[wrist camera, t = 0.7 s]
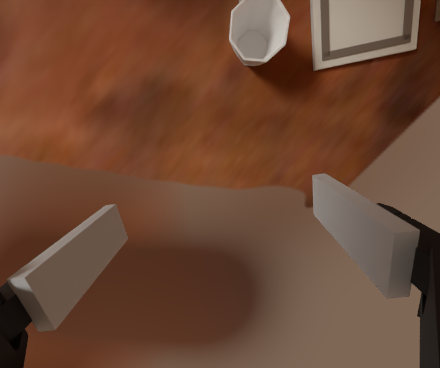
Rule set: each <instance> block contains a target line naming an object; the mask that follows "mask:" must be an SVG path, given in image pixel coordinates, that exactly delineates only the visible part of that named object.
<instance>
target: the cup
mask: <svg viewBox="0 0 440 368" xmlns="http://www.w3.org/2000/svg"><path fill="white" fill-rule="evenodd" d="M289 21H290V15H289V14H288V12H287V10H286V9H285V7H284V6H283V4H282V2H281V1H280V0H239V4H238V5H237V6H236V7H235V8H234V9H233V10H232V11H231V23H230V35H229V41H230V43H231V45H232V47H233V50H234V52H235V53H236V54H237V56H238V58H239V59H240V60H241V62H242V63H243V65H246V66H256V65H261V64H263V63H266V62H267V61H268V60H269V59H271V58H272V57H273V56H274V55H275V54H276V53H277V52H278V51H279V50H280V49H282V48H283V47H284V46H285V45H286V40H287V34H288V27H289Z"/></svg>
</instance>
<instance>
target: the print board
mask: <svg viewBox="0 0 440 368" xmlns="http://www.w3.org/2000/svg"><path fill="white" fill-rule="evenodd" d="M420 4H421V0H310V8H311V31H312V55H313V71H316V70H321V69H326V68H330V67H335V66H340V65H345V64H350V63H354V62H359V61H364V60H369V59H373V58H378V57H383V56H388V55H393V54H397V53H402V52H407V51H412V50H414V49H416V47H417V36H418V25H419V14H420Z"/></svg>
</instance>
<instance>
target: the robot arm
mask: <svg viewBox="0 0 440 368" xmlns="http://www.w3.org/2000/svg"><path fill="white" fill-rule="evenodd" d="M313 212H314V215H315V216H316V218H317V219H318V220H319V221H320V222H321V223H322V224H323V226H324V227H325V228H326V229H327V230H328V231H329V233H330V234H331V235H332V236H333V237H334V238H335V239H336V240H337V242H338V243H339V244H340V245H341V246H342V247H343V249H344V250H345V251H346V252H347V253H348V254H349V255H350V257H351V258H352V259H353V260H354V261H355V262H356V264H357V265H358V266H359V267H360V268H361V269H362V270H363V272H364V273H365V274H366V275H367V276H368V277H369V279H370V280H371V281H372V282H373V283H374V284H375V285H376V287H377V288H378V289H379V290H380V291H381V292H382V293H383V295H384V296H385V297H386V298H387V299H388V298H398V297H409V295H410V289H411V283H412V284H414V285H415V286H416V287H417V288H418V289H419V290H420V291H421V292H422V293H421V299H420V304H419V309H418V315H417V316H418V317H420V368H440V233H438V232H436V231H434V230H432V229H430V228H429V227H427V226H425V225H423V224H422V223H420V222H418V221H416V220H414V219H411V217H409V216H407V215H406V214H403V213H402V212H400V211H398V210H396V209H395V208H393V207H390V206H387V205H384V204H381V203H377V204H375V203H374V202H372V201H370V200H368V199H367V198H365V197H364V196H362V195H360V194H359V193H357V192H355V191H354V190H352V189H350V188H349V187H347V186H345V185H344V184H342V183H340V182H339V181H337V180H335V179H334V178H332V177H330V176H329V175H327V174H325V173H324V174H318V175H313ZM127 239H128V237H127V234H126V231H125V228H124V226H123V223H122V220H121V217H120V214H119V212H118V209H117V206H116V204H113V205H107V206H104V207H103V208H101V209H100V210H99V211H98V212H96V213H95V214H94V215H92V216H91V217H89V218H88V219H87V220H86V221H84V222H83V223H81V224H80V225H79V226H77V227H76V228H75V229H73V230H72V231H71V232H69V233H68V234H67V235H65V236H64V237H63V238H61V239H60V240H59V241H57V242H56V243H55V244H53V245H52V246H51V247H50V248H48V249H47V250H46V251H44V252H43V253H41V254H40V255H39V256H37V257H36V258H35V259H33V260H32V261H31V262H29V263H28V264H27V265H25V266H24V267H23V268H21V269H20V270H19V271H17V272H16V273H15V274H13V275H12V276H11V277H9V278H8V279H7V283H5V284H4V285H3V286H1V287H0V368H23V367H24V360H25V354H26V348H27V341H28V334H27V332H26V330H25V328H26V327H27V326H28V325H29V323H31V322H33V324H34V325H35V327H36V328H37V330H38V331H49V330H56V328H57V327H58V326H59V325H60V323H61V322H62V321H63V320H64V318H65V317H66V316H67V314H68V313H69V312H70V311H71V310H72V308H73V307H74V306H75V305H76V303H77V302H78V300H80V298H81V297H82V296H83V295H84V293H85V292H86V291H87V290H88V288H89V287H90V286H91V285H92V283H93V282H94V281H95V280H96V278H97V277H98V276H99V274H100V273H101V272H102V271H103V269H104V268H105V267H106V266H107V264H108V263H109V262H110V261H111V259H112V258H113V257H114V256H115V254H116V253H117V252H118V251H119V249H120V248H121V247H122V245H123V244H124V243H125V242H126V241H127Z"/></svg>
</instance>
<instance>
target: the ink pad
mask: <svg viewBox="0 0 440 368" xmlns="http://www.w3.org/2000/svg"><path fill="white" fill-rule="evenodd" d="M436 21H440V0H437V4H436V13H435V22H436Z"/></svg>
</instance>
